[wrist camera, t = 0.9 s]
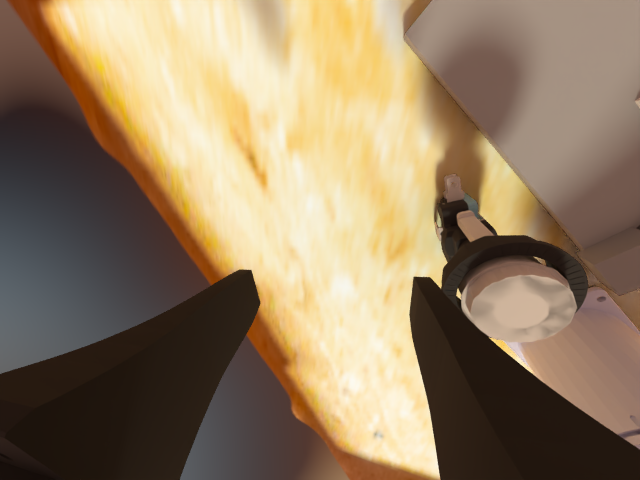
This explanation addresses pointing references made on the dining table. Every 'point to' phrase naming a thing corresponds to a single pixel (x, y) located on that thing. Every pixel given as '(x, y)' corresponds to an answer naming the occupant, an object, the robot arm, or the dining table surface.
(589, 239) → the mat
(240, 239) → the dining table surface
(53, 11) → the dining table surface
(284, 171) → the dining table surface
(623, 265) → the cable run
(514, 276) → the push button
